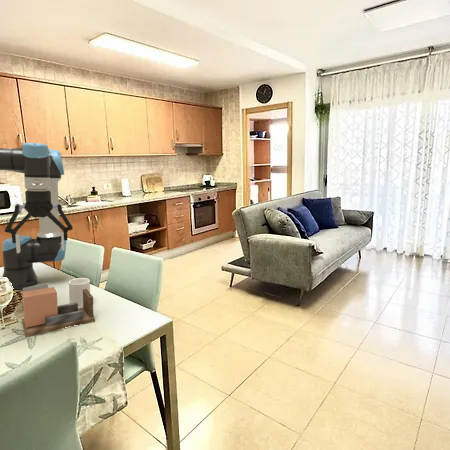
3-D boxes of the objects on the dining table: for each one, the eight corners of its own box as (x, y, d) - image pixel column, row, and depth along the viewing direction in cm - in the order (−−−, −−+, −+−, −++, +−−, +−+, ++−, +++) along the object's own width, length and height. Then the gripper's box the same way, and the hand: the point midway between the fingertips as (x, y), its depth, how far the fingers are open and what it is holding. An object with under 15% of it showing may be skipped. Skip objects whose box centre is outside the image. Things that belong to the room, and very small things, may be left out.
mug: (84, 295, 146) (83, 274, 145) (93, 303, 137) (92, 281, 136) (64, 298, 141) (64, 277, 140) (72, 308, 132) (72, 285, 131)
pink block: (25, 327, 111) (23, 297, 109) (24, 320, 116) (22, 291, 114) (58, 320, 117) (56, 292, 115) (55, 314, 122) (54, 286, 120)
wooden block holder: (25, 337, 109) (23, 310, 107) (22, 323, 118) (20, 298, 117) (94, 321, 122) (94, 297, 120) (87, 309, 131) (86, 287, 130)
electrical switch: (26, 312, 127) (24, 289, 126) (21, 309, 131) (19, 287, 130) (51, 305, 135) (49, 283, 134) (46, 302, 138) (44, 281, 137)
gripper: (-10, 190, 101) (-4, 256, 104) (78, 191, 111) (80, 250, 115) (-5, 188, 107) (0, 250, 111) (78, 189, 118) (80, 246, 121)
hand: (41, 250), depth 113 cm, fingers open, 13 cm apart
